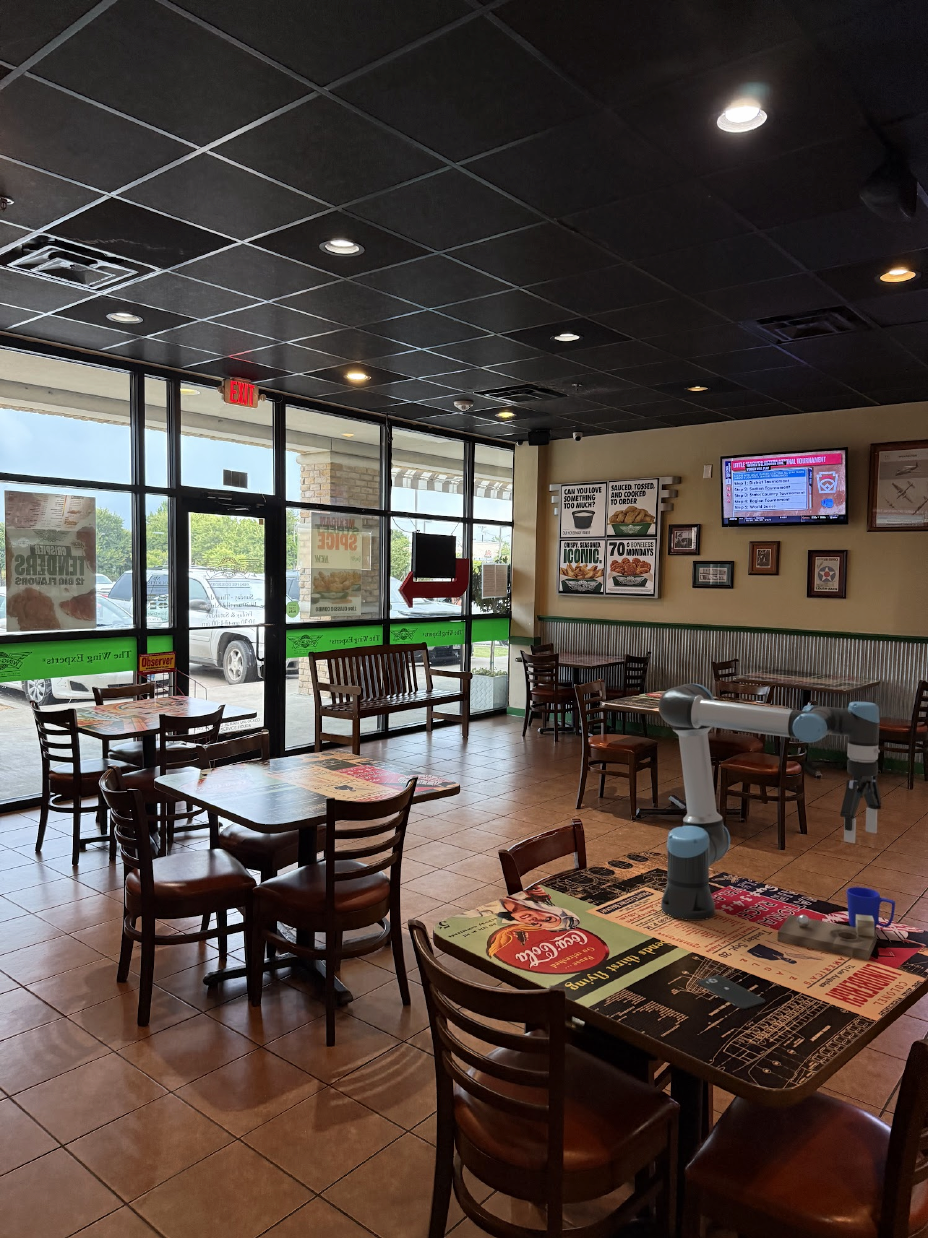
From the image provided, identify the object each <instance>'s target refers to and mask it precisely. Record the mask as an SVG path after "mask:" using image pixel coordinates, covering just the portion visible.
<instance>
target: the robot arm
mask: <svg viewBox="0 0 928 1238" xmlns="http://www.w3.org/2000/svg"><path fill="white" fill-rule="evenodd" d="M657 707H658V712H659V715H660V716H661V718H662V720H664V722H666V723H667V724H669V725H671V726H672V731H673V732H674V733H676V735H678V740H679V741H678V742H679V750H680V758H681V759H680V760H681V765H682V766H681V768H682V777H683V778H682V779H683V784H684V786H683V787H684V795H685V802H686V812H687V813H686V815H685V816H684V817H683V818H682V821H683V825H682V826H677V827H674V828H672V829H671V830H670V831H669V832H668V835H667V842H666V850H667V851H666V852H667V860H666V861H667V863H666V866H667V868H666V869H667V873H666V874H667V883H666V886H665V889H664V892H663V895H662V898H661V903H660V906H661V907H660V908H662V909H661V911H662V910H663V911H664V912H665V913H666V914H665V913H664V912H663V911H662V912H663V913H664V914H665V915H667V914H669V915H671V916H673V917H672V918H675V917H676V918H675V919H678V918H683V919H682V920H684V919H687V920H686V921H704V920H707V919H706V918H708V919H710V917H711V918H712V917H714V916H715V915H716V904H715V901H714V898H713V895H712V891H711V888H710V885H709V884H710V879H709V878H710V871H709V870H710V867H711V866H712V865H713V864H714V863H716V862H719V861H720V860H721V859H722V858H723V857H724V856H725V855H726V854H727V852H728V851H729V849H730V846H731V835H730V832H729V830H728V828H727V827H726V826H725V825H724V820H723V816H722V815H721V814H720V813H718V810H717V804H716V796H715V787H714V778H713V770H712V761H711V753H710V752H711V751H710V743H709V736H708V735H709V734H708V733H709V732H710V730H711V729H712V728H718V729H724V730H725V729H726V730H734V731H739V732H740V731H741V732H747V733H748V732H749V733H755V734H761V735H762V734H763V735H771V736H779V737H784V738H785V737H786V738H790V739H791V738H793V739H798V740H799V741H801V742H803V743H807V744H809V743H815V742H819V741H821V740H822V739H823V738H825V737H826V736H828V735H832V736H842V737H847V754H846V755H847V758H848V759H847V760H846V761H847V763H846V764H847V765H846V767H847V769H846V771H847V773H848V774H850V775H852V780H851V779H847V780H846V785H845V786H846V787H845V791H844V796H843V801H842V806H841V809H840V817H842V818H843V820H844V821H843V822H844V824H843V825H844V827H843V842H847V843H850V844H856V831H857V830H856V828H857V827H856V826H857V818H855V817H856V813H857V810H858V808H859V804H860V802H861V799H862V798H864V800H865V803H866V805H867V807H866V808H865V832H867V833H872V834H877V833H878V810H882V799H881V794H880V789H879V784H878V773H879V762H878V761H877V760H878V759H879V754H880V752H881V751H880V749H879V741H880V740H879V739H880V738H879V737H880V735H879V734H880V723H881V722H880V708H879V706H878V705H877V703H874V702H870V701H869V702H867V701H851V702H849V704H848V707H846V708H842V707H841V708H840V707H833V706H832V707H830V706H824V705H823V706H821V705H817V704H816V705H804V707H803V708H802V710H800V709H799V710H798V709H789V708H782V707H780V708H779V707H772V706H764V705H756V704H748V703H739V702H730V701H722V700H715V699H714V696H713V694H712V692H711V691H710V690H709V689H708V688H707V687H706V686H704V685H702V684H698V683H685V684H682V685H679V686H673V687H671V688H669V689H666V691H664V692H663V693H662V694H661V696H660V697H659V701H658V705H657ZM714 914H715V915H714ZM669 915H668V916H669ZM671 916H670V917H671ZM703 919H704V920H703Z"/></svg>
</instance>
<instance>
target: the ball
mask: <svg viewBox="0 0 928 1238" xmlns="http://www.w3.org/2000/svg"><path fill="white" fill-rule="evenodd" d="M797 916H798V918H797V923H798V925H799V926H801V927H807V926H808V925H809V923H810V920H809V919H810V917H808V916H807V915H806V914H800V915H797Z"/></svg>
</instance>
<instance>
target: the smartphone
mask: <svg viewBox="0 0 928 1238" xmlns="http://www.w3.org/2000/svg"><path fill="white" fill-rule="evenodd" d="M696 984H697V985H699V986H700V987H701V988H704V989H706V990H707V991H709V992H710V993H712V994H714V995H716V996H718V997H719V998H721V999H723V1000H725V1001H726V1002H728V1003H730V1004H732V1005H733V1006H735V1007H737V1008H739V1009H740V1010H747V1009H750V1008H753V1007H757V1006H759V1005H763V1004H765V1003H766V999H765V998H763V997H762V996H759V995H757V994H756V993H754V992H752V991H751V990H748V989H747V988H744V987H742V986H741V985H740V984H737V983H735V982H733V981H732V980H730V979H728V978H726V977H725V976H722V975H721V974H716V975H712V976H709V977H705V978H702V979H701V978H700V979H699V980H697V981H696Z"/></svg>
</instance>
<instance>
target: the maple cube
mask: <svg viewBox="0 0 928 1238" xmlns="http://www.w3.org/2000/svg"><path fill="white" fill-rule="evenodd" d="M874 931H875V930H874V919H873V917H872V916H868V915H858V914H856V932H857V935H864V936H873V937H874Z"/></svg>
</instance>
